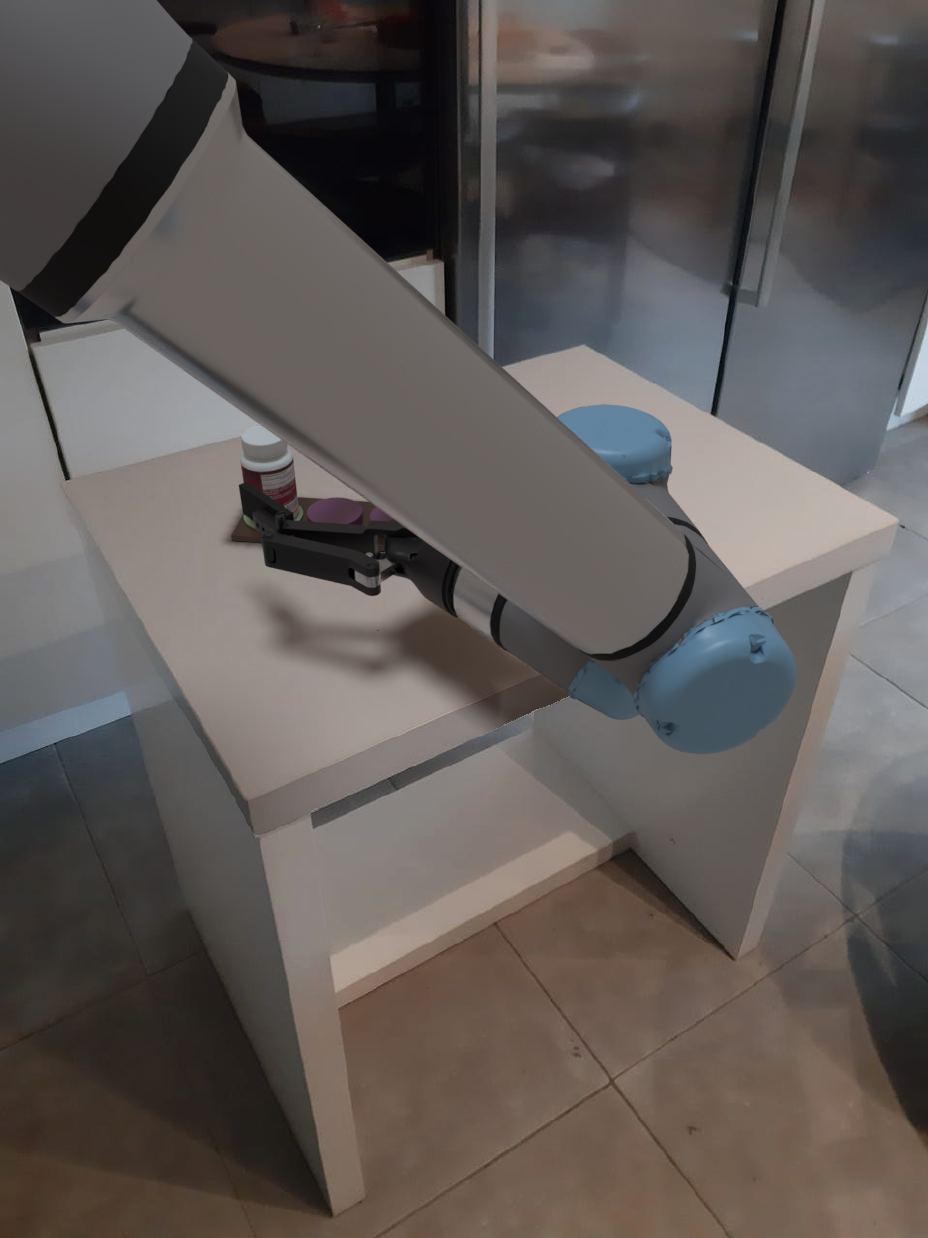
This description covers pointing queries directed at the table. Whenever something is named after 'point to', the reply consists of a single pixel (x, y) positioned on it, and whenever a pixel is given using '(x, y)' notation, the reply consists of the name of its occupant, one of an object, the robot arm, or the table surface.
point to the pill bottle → (269, 466)
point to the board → (321, 516)
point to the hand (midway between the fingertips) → (312, 470)
